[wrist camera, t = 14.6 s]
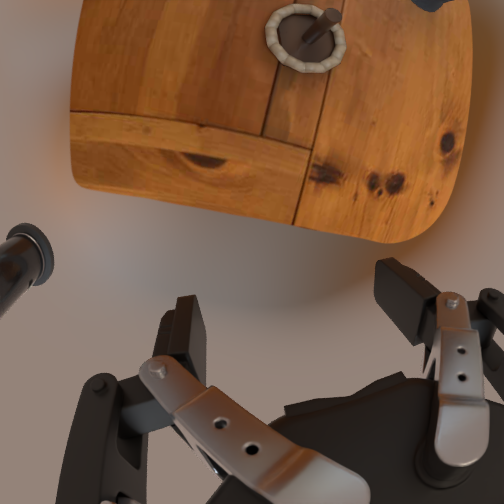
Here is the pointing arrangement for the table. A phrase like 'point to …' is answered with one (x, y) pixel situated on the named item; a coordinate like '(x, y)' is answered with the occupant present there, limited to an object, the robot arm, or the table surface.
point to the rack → (309, 35)
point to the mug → (430, 4)
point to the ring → (293, 62)
